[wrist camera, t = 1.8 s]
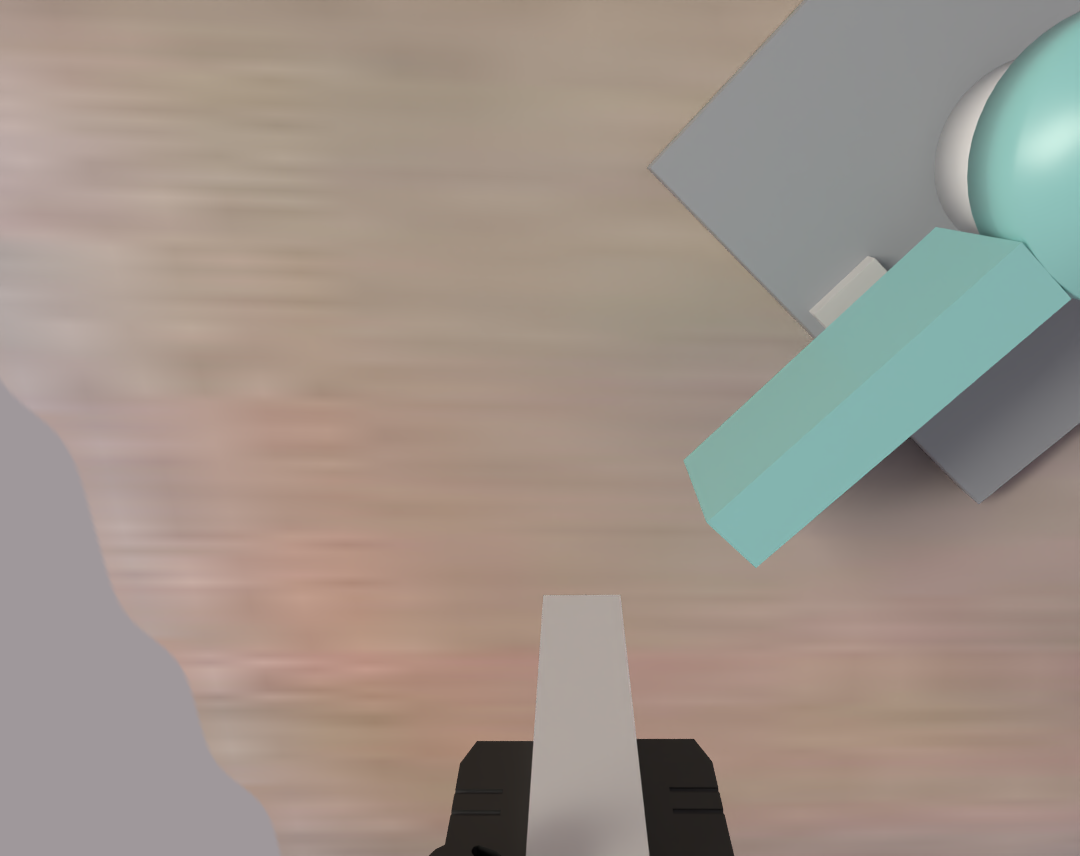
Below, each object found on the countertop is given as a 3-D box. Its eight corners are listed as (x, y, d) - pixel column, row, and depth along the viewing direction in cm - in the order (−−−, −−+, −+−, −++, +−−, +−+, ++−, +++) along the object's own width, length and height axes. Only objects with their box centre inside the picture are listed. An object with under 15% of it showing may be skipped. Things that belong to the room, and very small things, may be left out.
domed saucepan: (1094, -52, 26) (1266, -122, 20) (1250, 149, 28) (1456, 144, 21) (625, 405, 32) (638, 468, 25) (779, 550, 33) (829, 644, 27)
